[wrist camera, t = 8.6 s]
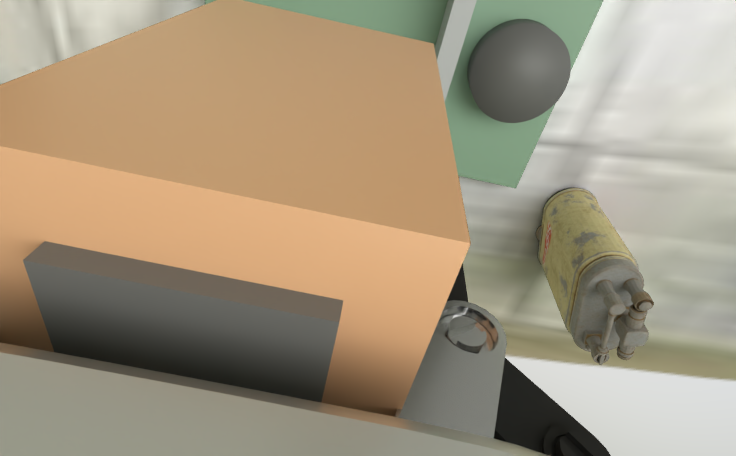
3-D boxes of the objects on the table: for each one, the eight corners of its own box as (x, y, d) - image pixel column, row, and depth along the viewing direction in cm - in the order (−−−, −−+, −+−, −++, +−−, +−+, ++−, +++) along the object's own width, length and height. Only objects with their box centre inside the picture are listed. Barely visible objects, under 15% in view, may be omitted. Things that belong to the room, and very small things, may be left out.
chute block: (433, 43, 10) (474, 264, 4) (369, 285, 15) (334, 584, 8) (226, -4, 10) (-138, 139, 3) (224, 256, 15) (67, 538, 8)
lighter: (583, 268, 33) (640, 382, 25) (530, 269, 33) (570, 382, 25) (600, 184, 29) (675, 288, 21) (540, 188, 29) (590, 290, 21)
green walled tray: (625, -70, 21) (661, -69, 18) (512, 179, 29) (524, 209, 26) (213, -177, 20) (178, -195, 17) (213, 112, 28) (189, 134, 25)
